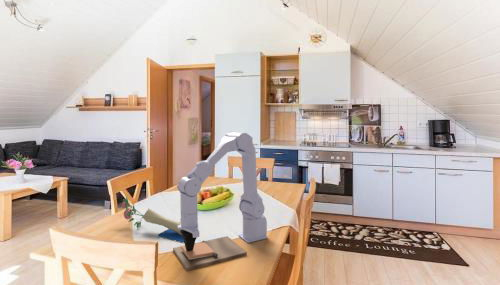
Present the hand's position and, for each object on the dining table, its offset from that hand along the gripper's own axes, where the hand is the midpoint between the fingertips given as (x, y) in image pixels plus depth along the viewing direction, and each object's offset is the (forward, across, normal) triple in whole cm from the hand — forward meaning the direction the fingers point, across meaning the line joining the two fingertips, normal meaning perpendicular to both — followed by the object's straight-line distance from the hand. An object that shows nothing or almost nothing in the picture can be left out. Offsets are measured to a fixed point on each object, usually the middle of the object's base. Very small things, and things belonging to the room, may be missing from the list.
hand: (189, 250), depth 100 cm
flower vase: (+3, -33, -6) cm, 33 cm away
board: (+3, 0, +7) cm, 8 cm away
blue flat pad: (+3, -20, +1) cm, 20 cm away
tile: (0, 0, +3) cm, 3 cm away
